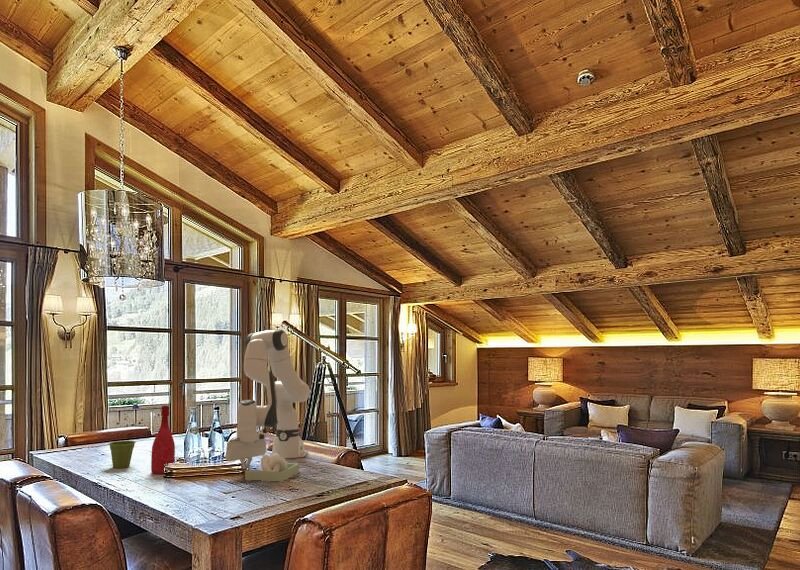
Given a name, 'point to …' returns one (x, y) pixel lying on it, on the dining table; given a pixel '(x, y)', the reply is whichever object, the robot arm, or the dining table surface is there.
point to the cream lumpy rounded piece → (273, 463)
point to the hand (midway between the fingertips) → (245, 468)
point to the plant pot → (121, 453)
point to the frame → (273, 474)
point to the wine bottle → (162, 445)
